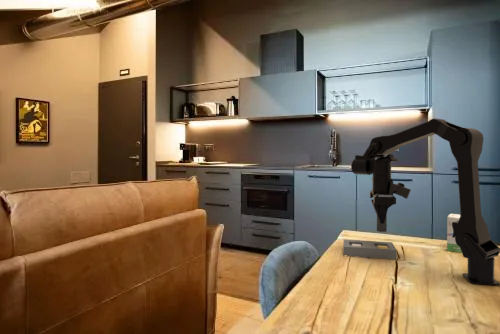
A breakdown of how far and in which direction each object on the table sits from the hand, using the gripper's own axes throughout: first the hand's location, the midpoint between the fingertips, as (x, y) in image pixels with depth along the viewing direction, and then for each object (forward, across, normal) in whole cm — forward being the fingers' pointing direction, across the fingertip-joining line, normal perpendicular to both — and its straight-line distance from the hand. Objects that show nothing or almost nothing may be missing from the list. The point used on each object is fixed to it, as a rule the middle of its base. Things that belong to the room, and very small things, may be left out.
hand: (381, 222), depth 110 cm
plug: (+3, 0, 0) cm, 3 cm away
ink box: (+11, +13, -26) cm, 31 cm away
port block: (+10, 0, +4) cm, 11 cm away
